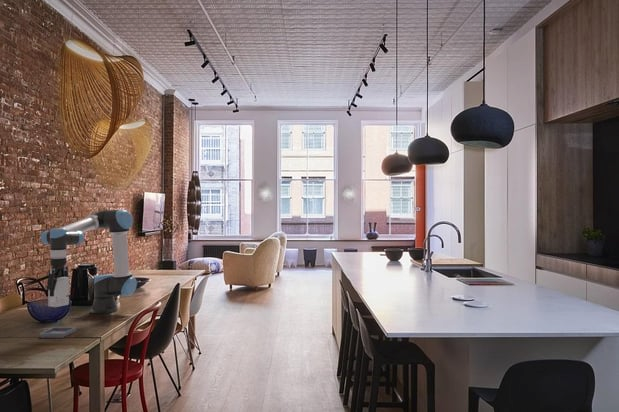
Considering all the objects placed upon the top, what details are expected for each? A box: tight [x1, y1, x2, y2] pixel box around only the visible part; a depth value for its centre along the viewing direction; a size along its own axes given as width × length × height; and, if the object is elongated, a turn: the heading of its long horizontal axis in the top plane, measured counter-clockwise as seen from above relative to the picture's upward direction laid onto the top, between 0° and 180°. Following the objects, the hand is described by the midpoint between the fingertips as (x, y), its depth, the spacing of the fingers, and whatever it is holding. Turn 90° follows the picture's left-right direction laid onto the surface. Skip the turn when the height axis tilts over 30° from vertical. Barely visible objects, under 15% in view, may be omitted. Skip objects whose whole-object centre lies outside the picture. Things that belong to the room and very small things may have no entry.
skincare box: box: [47, 276, 70, 308], centre depth 248 cm, size 8×6×15 cm
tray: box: [39, 326, 77, 339], centre depth 248 cm, size 12×12×2 cm
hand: (58, 300), depth 248 cm, fingers closed on skincare box, 10 cm apart
